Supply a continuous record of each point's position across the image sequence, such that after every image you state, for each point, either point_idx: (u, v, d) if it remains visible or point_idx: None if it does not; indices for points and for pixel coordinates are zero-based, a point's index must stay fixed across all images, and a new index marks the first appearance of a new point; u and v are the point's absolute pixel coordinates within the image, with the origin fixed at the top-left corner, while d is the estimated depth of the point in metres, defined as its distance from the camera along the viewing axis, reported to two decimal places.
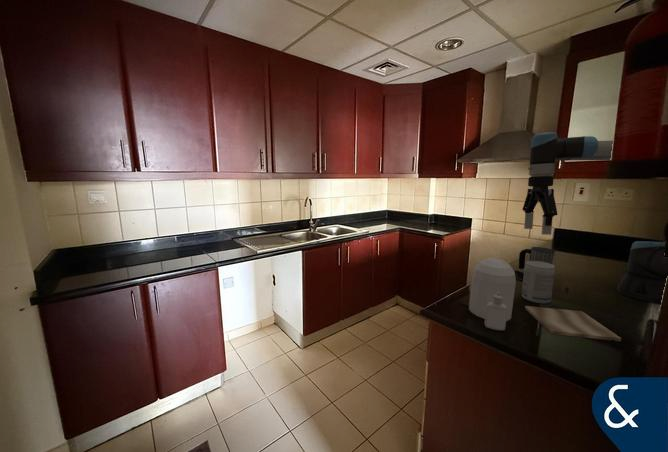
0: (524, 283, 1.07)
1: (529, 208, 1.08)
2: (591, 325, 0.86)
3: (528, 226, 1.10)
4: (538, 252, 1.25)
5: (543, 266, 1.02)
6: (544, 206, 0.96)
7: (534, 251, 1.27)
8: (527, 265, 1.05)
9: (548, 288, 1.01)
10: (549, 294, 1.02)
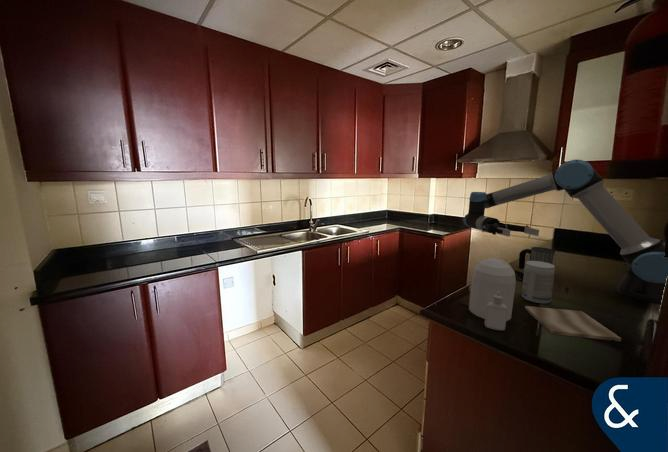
0: (524, 283, 1.07)
1: (519, 230, 1.21)
2: (591, 325, 0.86)
3: (535, 232, 1.14)
4: (538, 252, 1.25)
5: (543, 266, 1.02)
6: None
7: (534, 251, 1.27)
8: (527, 265, 1.05)
9: (548, 288, 1.01)
10: (549, 294, 1.02)
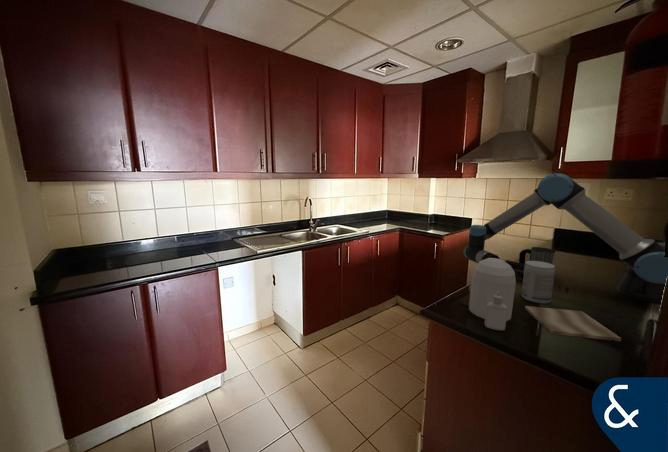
0: (524, 283, 1.07)
1: (519, 268, 1.21)
2: (591, 325, 0.86)
3: None
4: (538, 252, 1.25)
5: (543, 266, 1.02)
6: None
7: (534, 251, 1.27)
8: (527, 265, 1.05)
9: (548, 288, 1.01)
10: (549, 294, 1.02)
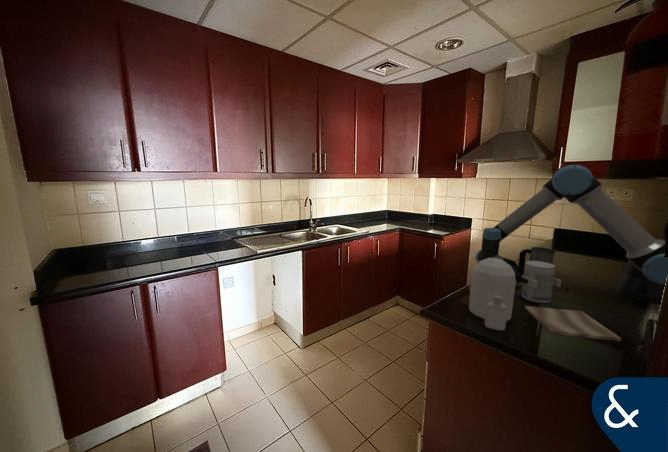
0: None
1: None
2: (591, 325, 0.86)
3: (556, 283, 1.03)
4: (538, 252, 1.25)
5: (543, 266, 1.02)
6: None
7: (534, 251, 1.27)
8: (527, 265, 1.05)
9: (548, 288, 1.01)
10: (549, 294, 1.02)
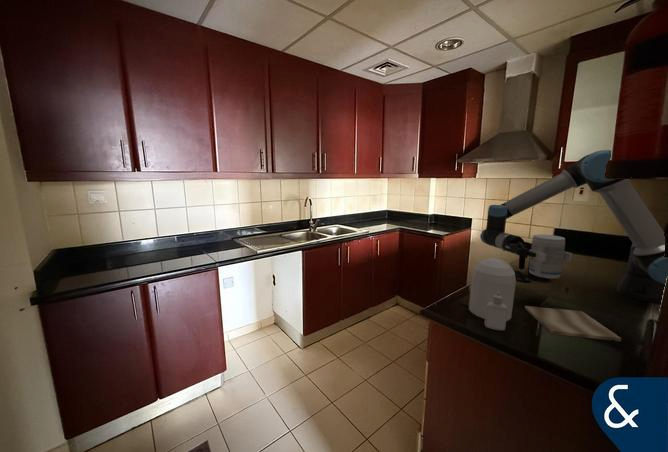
0: None
1: None
2: (591, 325, 0.86)
3: (567, 256, 0.96)
4: None
5: (552, 238, 0.95)
6: None
7: None
8: (535, 238, 0.99)
9: (558, 262, 0.95)
10: (559, 268, 0.95)
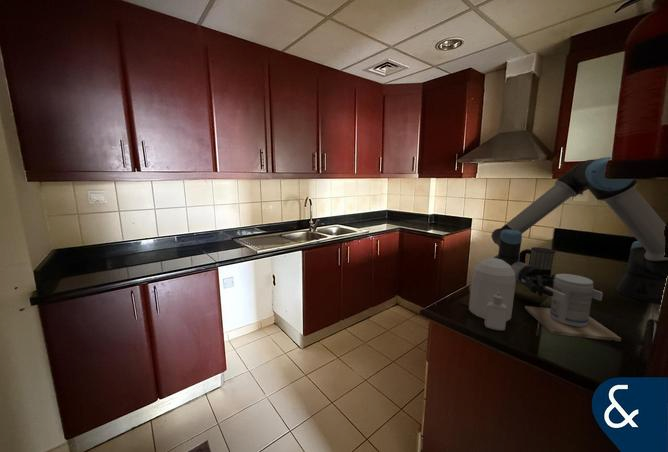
0: (554, 301, 0.88)
1: None
2: (591, 325, 0.86)
3: (596, 295, 0.86)
4: (538, 252, 1.25)
5: (579, 281, 0.83)
6: None
7: (534, 251, 1.26)
8: (558, 280, 0.87)
9: (586, 309, 0.83)
10: (586, 315, 0.84)
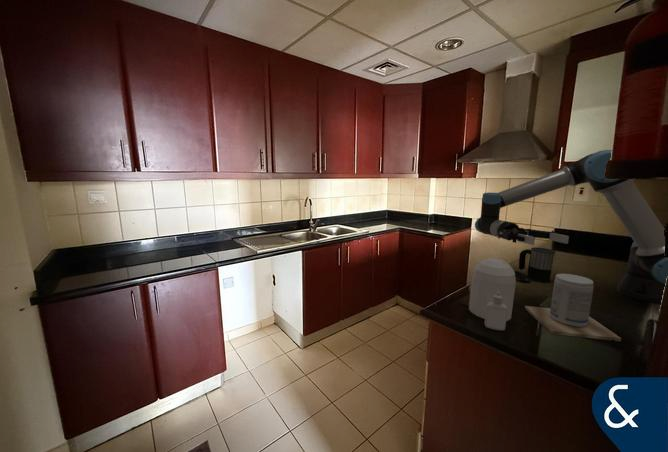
0: (554, 301, 0.88)
1: (543, 236, 1.03)
2: (591, 325, 0.86)
3: (563, 239, 0.96)
4: (538, 253, 1.25)
5: (579, 281, 0.83)
6: None
7: (534, 252, 1.26)
8: (558, 280, 0.87)
9: (586, 309, 0.83)
10: (586, 315, 0.84)
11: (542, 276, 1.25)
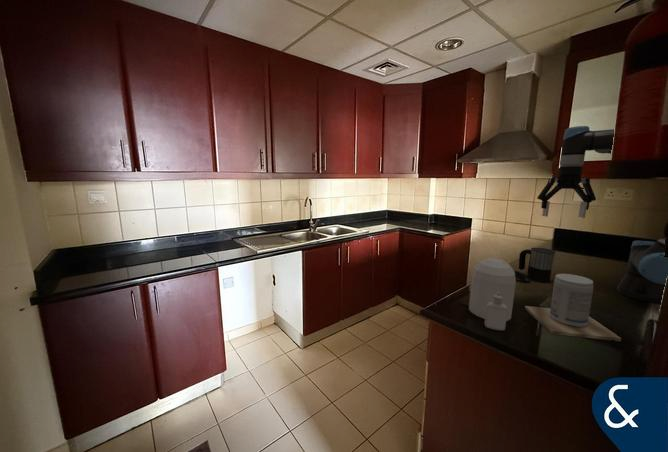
0: (554, 301, 0.88)
1: (581, 197, 1.12)
2: (591, 325, 0.86)
3: (580, 215, 1.13)
4: (538, 253, 1.24)
5: (579, 281, 0.83)
6: (549, 192, 1.15)
7: (534, 252, 1.26)
8: (558, 280, 0.87)
9: (586, 309, 0.83)
10: (586, 315, 0.84)
11: (541, 276, 1.24)
